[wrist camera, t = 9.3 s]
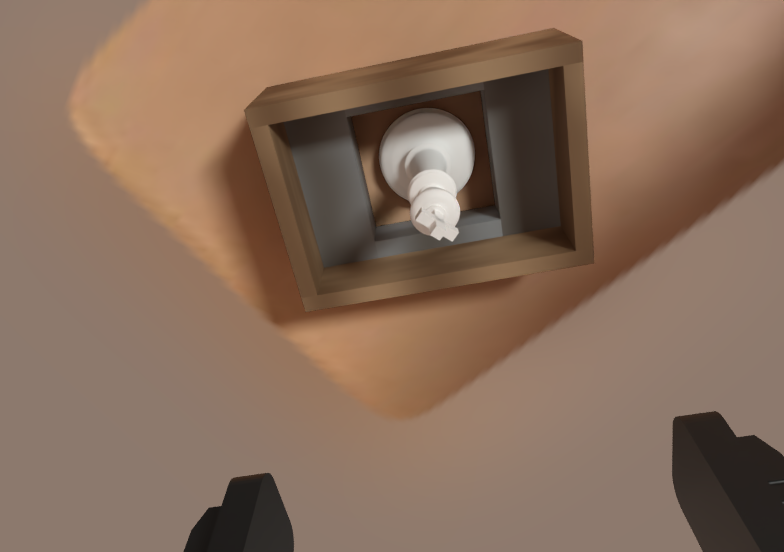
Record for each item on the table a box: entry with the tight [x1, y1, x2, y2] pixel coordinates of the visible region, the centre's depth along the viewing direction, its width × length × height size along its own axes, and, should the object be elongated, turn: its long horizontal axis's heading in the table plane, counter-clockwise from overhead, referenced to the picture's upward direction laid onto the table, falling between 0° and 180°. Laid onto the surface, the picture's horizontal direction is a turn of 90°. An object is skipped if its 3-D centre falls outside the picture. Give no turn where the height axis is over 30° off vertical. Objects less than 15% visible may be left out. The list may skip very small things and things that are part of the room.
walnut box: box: [244, 28, 594, 312], centre depth 30 cm, size 14×10×5 cm
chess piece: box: [379, 108, 475, 242], centre depth 27 cm, size 5×5×10 cm
